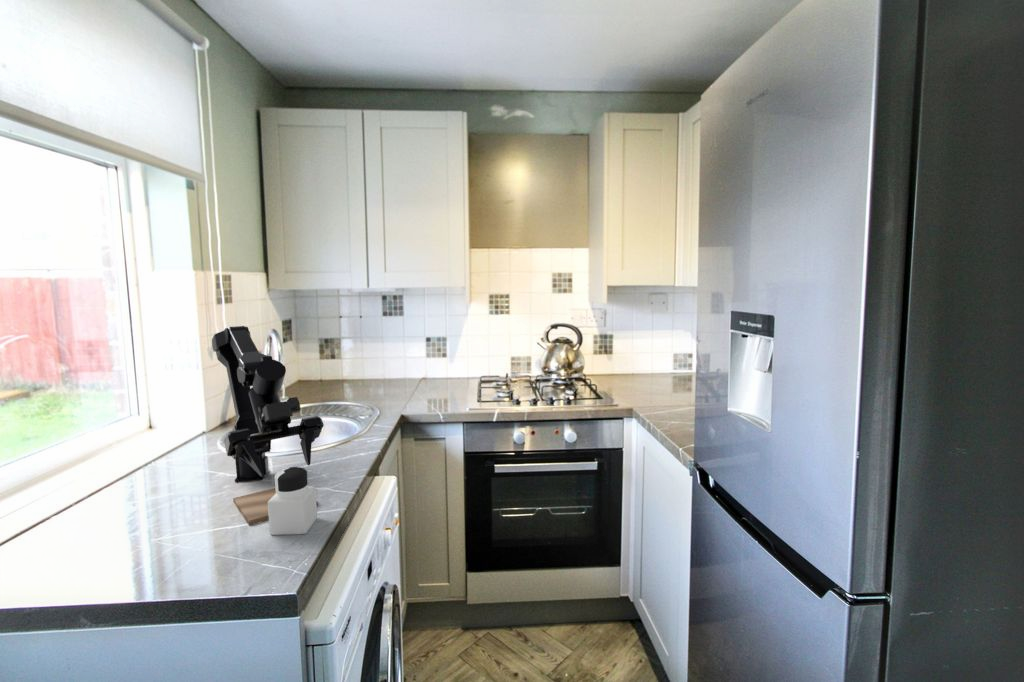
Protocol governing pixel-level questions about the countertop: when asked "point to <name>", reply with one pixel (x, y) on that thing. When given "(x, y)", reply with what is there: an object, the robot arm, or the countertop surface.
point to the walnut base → (255, 505)
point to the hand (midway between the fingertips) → (286, 470)
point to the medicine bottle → (292, 503)
